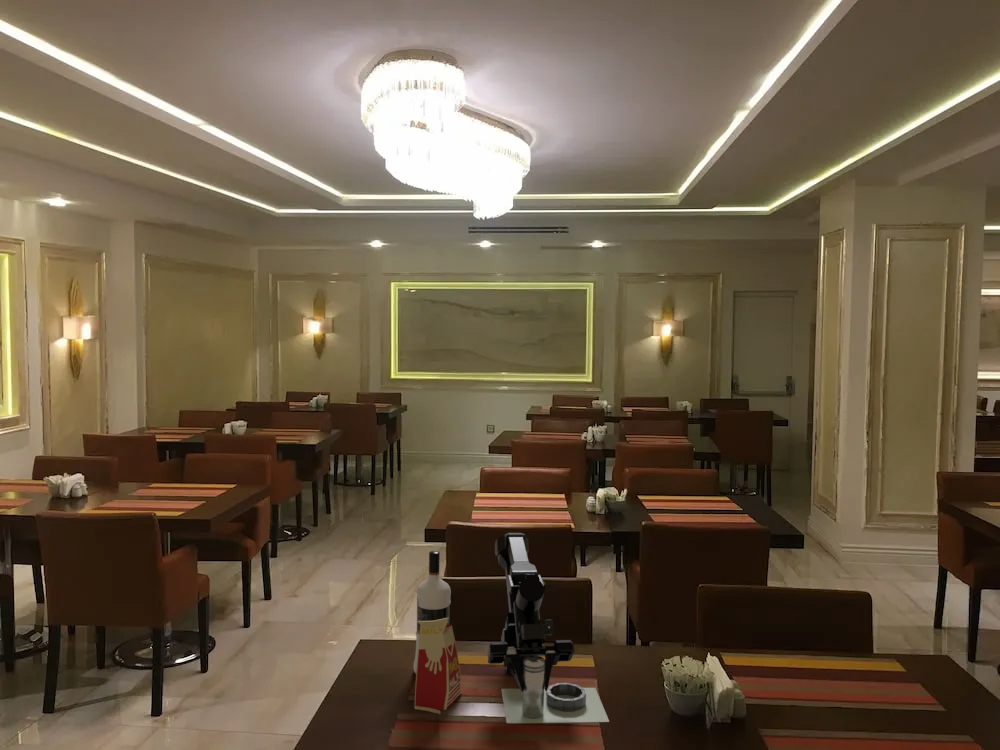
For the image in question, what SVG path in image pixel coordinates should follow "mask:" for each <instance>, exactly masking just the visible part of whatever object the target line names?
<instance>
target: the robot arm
mask: <svg viewBox="0 0 1000 750" xmlns="http://www.w3.org/2000/svg"><path fill="white" fill-rule="evenodd" d="M529 550H530V549H529V538H528V537H526V534H525V533H523V532H507V533H505V534H504V535H503V536H501V537H498V538H496V539H495V542H494V554H495V556H497V561H498V565H499V566H500V567H501V569H503V571H505V572H504V573H505V581H506V592H507V602H508V614H507V616H506V618H505V625H504V628H503V629H502V633H501V637H500V641H491V643H490V644H489V645H488V651H487V663H488V664H490V665H492V664H495V665H496V664H498V665H499V664H502V665H503V667H504V668H505V671H506V674H511V675H512V676H513V678H514V680H515V682H516V683H517V686H518V687H519V688H518V689H520V690H521V692H523V691H524V685H523V660H524V658H525V657H527V656H532V655H535V656H540V657H543V656H544V659H545V673H544V688H545V691H547V690H548V687H549V686H550V679H551V674H552V669H553V666H556V665H557V664H558V663H559V662H570V661H572V658H573V656H574V653H575V644H574V642H573V641H572V640H571V639H558V640H555V642H554V644H553V645H546V646H544V644H545V642H546V640H547V639H546V638H547V637H546V636H552V635H554V622H553V619H543V620H542V623H541V616H540V607H541V605H542V601H543V598H544V595H545V590H546V583H545V581H544V580H543V578H542V576H541V574H539V572H538V570H537V567H536V566H535V564H533V563H530V560H529V556H528V554H529V552H530V551H529Z"/></svg>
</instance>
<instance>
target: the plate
mask: <svg viewBox="0 0 1000 750" xmlns="http://www.w3.org/2000/svg"><path fill="white" fill-rule="evenodd" d="M583 688H584V689H585V692H586V705H585V706H584V707H583V709H580V710H577V711H574V712H563V711H559V710H555V709H553V708H551V707H550V706H548V705H547V702H546V691H545V687H544V712H543V716H542V717H541V718H538V719H529V718H526V717H524V716H523V715H522V702H523V692H521V690H520V688H501V689H500V690H501V695H502V696H501V697H502V702H503V703H502V704H503V709H504V716H505V722H506V724H509V725H511V724H555V723H557V724H559V723H560V724H561V723H562V724H563V723H564V724H565V723H567V724H569V723H571V724H572V723H610V720H609V717H608V715H607V712H606V710H605V708H604V705H603V703H602V700H601V698H600V696H599V694H598V691H597V688H596V687H583ZM556 697H559V698H563V699H574V698H576V697H574V696H570V695H558V696H556Z"/></svg>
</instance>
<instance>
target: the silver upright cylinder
mask: <svg viewBox="0 0 1000 750" xmlns="http://www.w3.org/2000/svg"><path fill="white" fill-rule="evenodd" d="M544 673H545V657H543V656H535V655H532V656H527V657H525V658H524V660H523V675H522V678H523V685H524V691H523V702H522V715H523V716H524V717H526V718H529V719H538V718H541V717H542V716H543V712H544V688H545V687H544Z"/></svg>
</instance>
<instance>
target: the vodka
mask: <svg viewBox="0 0 1000 750" xmlns="http://www.w3.org/2000/svg"><path fill="white" fill-rule="evenodd" d="M440 555H441V553H440V551H439V550H438V551H437V550H432V551H429V553H428V578H426V579H425V580H423V581H421V583H419V584H418V586H417V587H416V591H415V593H416V631H415V636H416V637H415V638H416V639H415V640H416V643H415V654H414V660H413V664H412V665H413V671H414V673H415V674H416V672H417V659H418V649H419V640H420V624H419V623H418V622H417V621H434V620H439V619H444V618H448V617H449V618H448V624H450V613H451V612H450V607H451V606H450V605H451V593H452V591H451V586H450V585H449V583H447V582H446V581H444V580H443V579H441V578H440V560H441V559H440Z"/></svg>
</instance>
